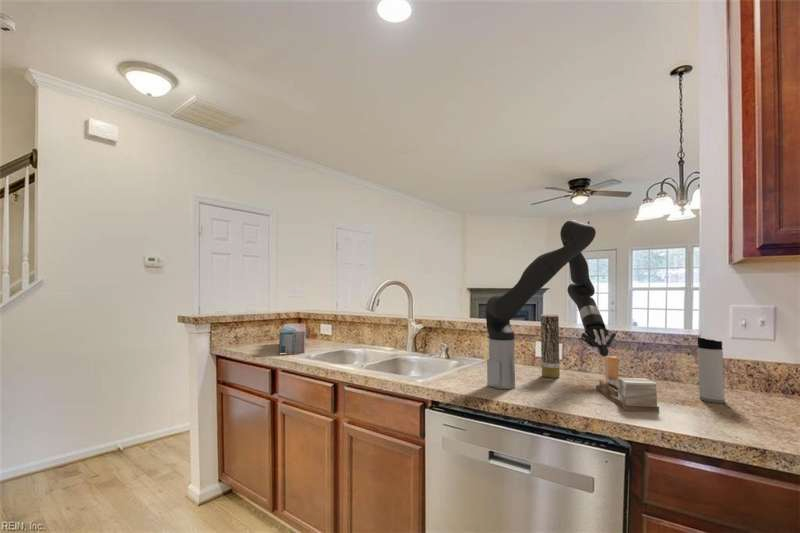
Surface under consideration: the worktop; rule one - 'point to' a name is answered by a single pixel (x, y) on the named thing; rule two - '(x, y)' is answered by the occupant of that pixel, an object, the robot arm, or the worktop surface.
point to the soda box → (292, 338)
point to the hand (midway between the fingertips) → (605, 355)
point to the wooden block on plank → (632, 394)
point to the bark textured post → (550, 345)
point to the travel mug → (711, 370)
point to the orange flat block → (611, 371)
